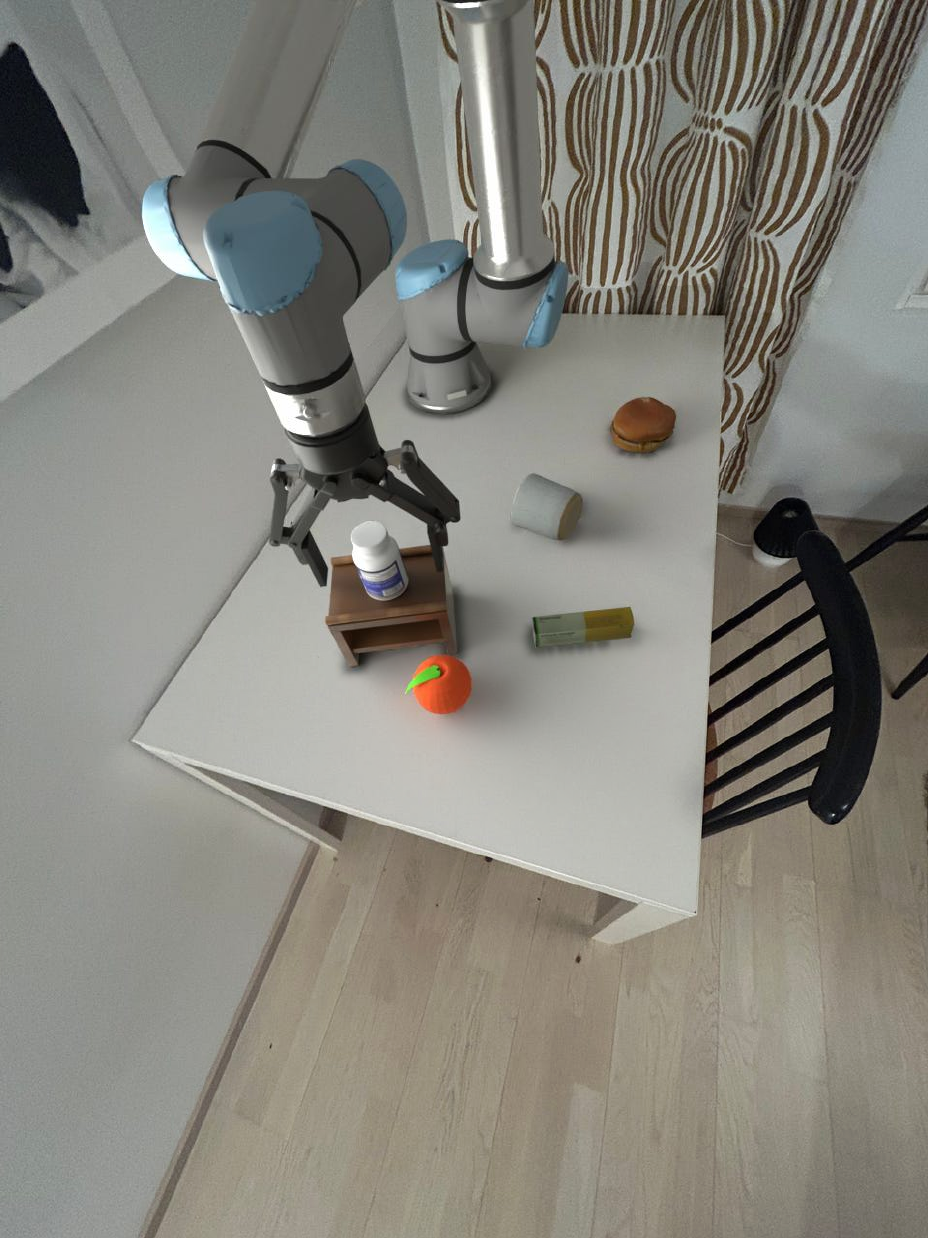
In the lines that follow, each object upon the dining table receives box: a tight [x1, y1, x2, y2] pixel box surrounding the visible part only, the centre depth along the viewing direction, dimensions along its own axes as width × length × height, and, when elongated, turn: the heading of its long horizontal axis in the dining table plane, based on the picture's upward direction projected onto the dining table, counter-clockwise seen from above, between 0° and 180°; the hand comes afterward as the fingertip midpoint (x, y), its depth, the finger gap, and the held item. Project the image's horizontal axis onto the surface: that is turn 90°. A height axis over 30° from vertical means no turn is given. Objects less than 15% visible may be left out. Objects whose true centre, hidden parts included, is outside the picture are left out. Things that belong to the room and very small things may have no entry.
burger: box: [610, 396, 677, 454], centre depth 92 cm, size 10×9×5 cm
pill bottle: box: [350, 520, 408, 601], centre depth 66 cm, size 5×5×9 cm
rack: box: [324, 544, 458, 667], centre depth 73 cm, size 10×14×10 cm
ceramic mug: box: [510, 473, 584, 541], centre depth 82 cm, size 11×8×8 cm
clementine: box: [404, 654, 473, 715], centre depth 68 cm, size 8×7×7 cm
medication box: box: [531, 606, 635, 649], centre depth 72 cm, size 12×3×4 cm, turn 92°
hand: (381, 570), depth 68 cm, fingers open, 13 cm apart
